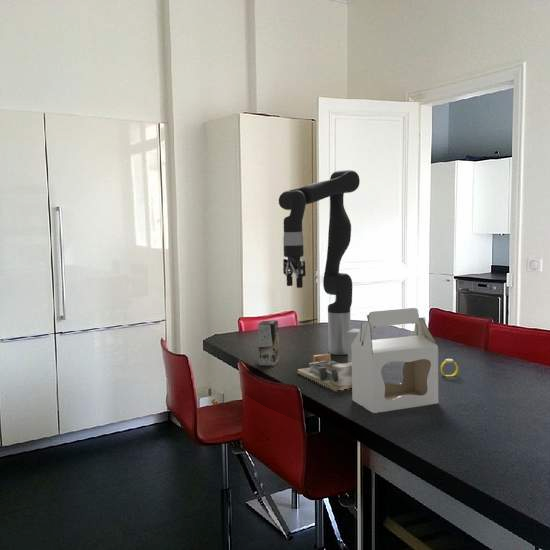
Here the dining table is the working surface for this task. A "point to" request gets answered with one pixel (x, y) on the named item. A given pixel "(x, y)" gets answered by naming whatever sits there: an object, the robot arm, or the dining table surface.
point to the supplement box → (351, 341)
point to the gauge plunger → (323, 361)
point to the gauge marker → (322, 372)
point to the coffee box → (268, 343)
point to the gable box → (376, 353)
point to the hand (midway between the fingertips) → (294, 286)
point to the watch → (449, 362)
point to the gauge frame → (331, 376)
